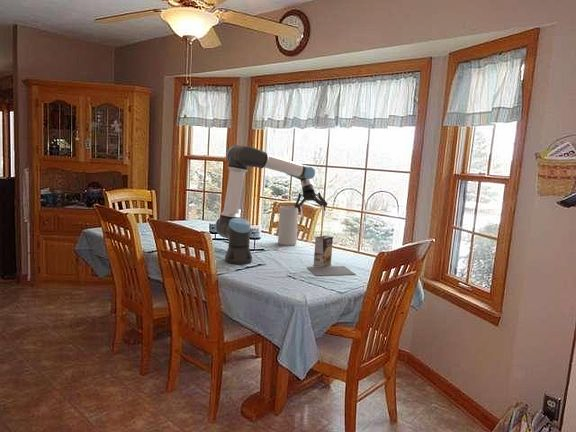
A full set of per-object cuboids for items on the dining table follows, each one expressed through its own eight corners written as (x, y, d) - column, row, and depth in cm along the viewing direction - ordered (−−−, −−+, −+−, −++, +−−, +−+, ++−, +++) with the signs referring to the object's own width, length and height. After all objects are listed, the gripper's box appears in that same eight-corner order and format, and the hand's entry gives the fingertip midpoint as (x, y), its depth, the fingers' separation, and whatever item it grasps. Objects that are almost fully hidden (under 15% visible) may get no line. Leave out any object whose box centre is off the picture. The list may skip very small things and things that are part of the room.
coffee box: (323, 267, 246) (324, 239, 243) (313, 265, 249) (314, 237, 247) (331, 264, 253) (333, 236, 251) (321, 262, 257) (323, 235, 254)
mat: (316, 276, 228) (316, 275, 228) (306, 267, 243) (306, 266, 243) (355, 274, 234) (355, 274, 234) (343, 266, 249) (343, 265, 249)
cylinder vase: (297, 242, 306) (299, 206, 302) (294, 246, 294) (296, 209, 290) (279, 241, 308) (281, 205, 304) (276, 244, 296) (278, 207, 292)
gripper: (325, 190, 284) (331, 218, 273) (287, 191, 280) (292, 220, 268) (328, 183, 278) (334, 211, 267) (289, 184, 274) (293, 213, 262)
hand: (313, 216), depth 267 cm, fingers open, 13 cm apart
